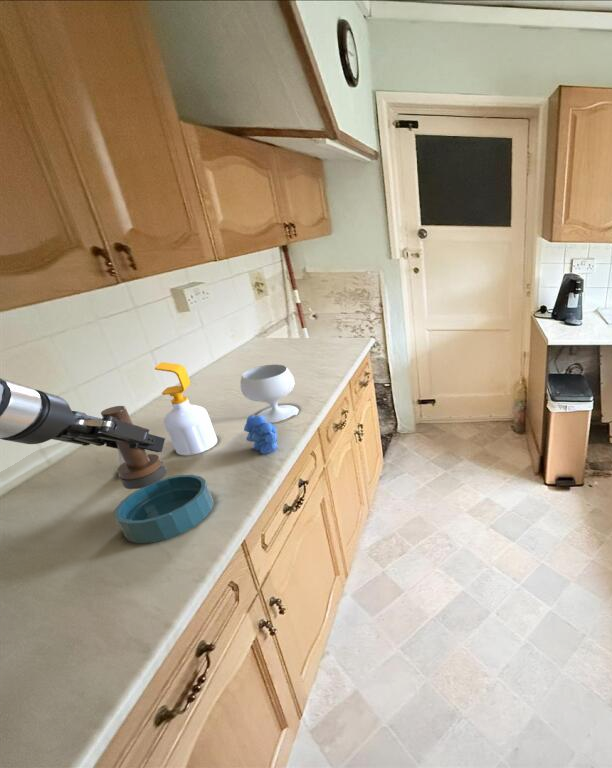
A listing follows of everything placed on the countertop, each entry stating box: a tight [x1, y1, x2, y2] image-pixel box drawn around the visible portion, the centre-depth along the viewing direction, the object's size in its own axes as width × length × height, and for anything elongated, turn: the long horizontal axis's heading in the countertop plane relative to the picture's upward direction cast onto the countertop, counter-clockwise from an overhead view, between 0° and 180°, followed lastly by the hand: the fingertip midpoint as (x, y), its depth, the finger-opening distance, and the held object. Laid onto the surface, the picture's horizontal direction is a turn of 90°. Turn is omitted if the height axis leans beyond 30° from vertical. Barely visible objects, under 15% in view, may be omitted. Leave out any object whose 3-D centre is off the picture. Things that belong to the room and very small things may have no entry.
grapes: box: [243, 414, 278, 455], centre depth 104 cm, size 12×7×12 cm, turn 63°
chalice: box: [240, 364, 300, 423], centre depth 120 cm, size 14×14×15 cm
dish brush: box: [100, 405, 168, 490], centre depth 73 cm, size 6×6×15 cm
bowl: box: [113, 474, 215, 544], centre depth 83 cm, size 15×15×6 cm
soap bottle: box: [154, 361, 218, 456], centre depth 102 cm, size 9×9×25 cm
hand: (150, 445), depth 77 cm, fingers closed on dish brush, 3 cm apart
